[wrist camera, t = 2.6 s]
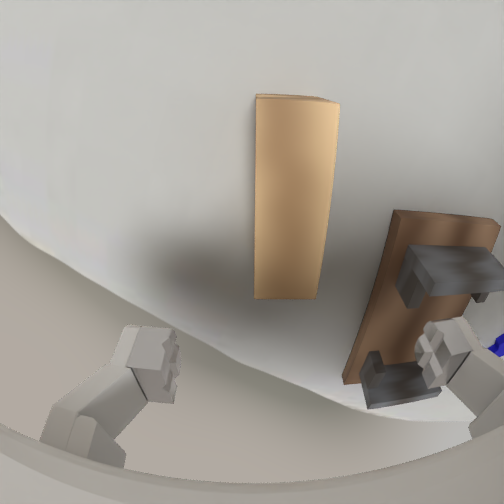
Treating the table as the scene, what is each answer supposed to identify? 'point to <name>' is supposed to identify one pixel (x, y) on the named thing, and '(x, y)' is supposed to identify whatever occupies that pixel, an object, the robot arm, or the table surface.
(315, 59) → the table surface
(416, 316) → the wooden clamp fixture
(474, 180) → the table surface
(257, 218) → the top rail
